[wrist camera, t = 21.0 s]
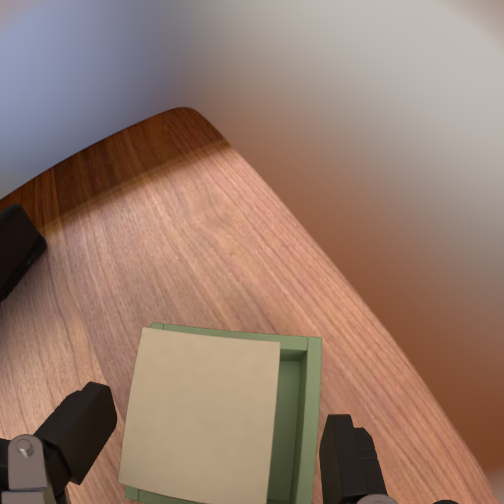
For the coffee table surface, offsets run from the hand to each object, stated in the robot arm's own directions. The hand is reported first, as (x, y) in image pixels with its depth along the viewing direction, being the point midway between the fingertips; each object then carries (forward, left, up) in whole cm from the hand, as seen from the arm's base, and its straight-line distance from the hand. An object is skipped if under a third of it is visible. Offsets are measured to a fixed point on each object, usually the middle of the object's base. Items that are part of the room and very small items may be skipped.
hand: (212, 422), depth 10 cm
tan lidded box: (0, 0, -8) cm, 8 cm away
